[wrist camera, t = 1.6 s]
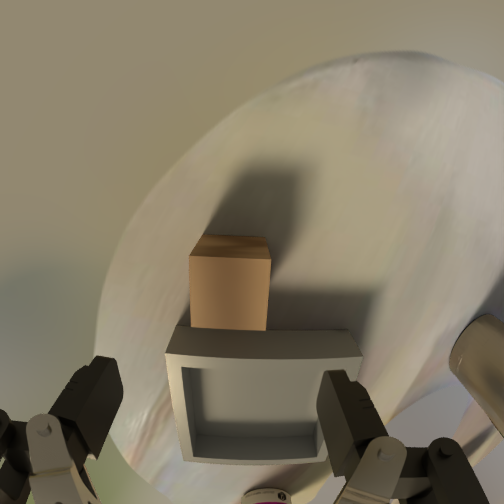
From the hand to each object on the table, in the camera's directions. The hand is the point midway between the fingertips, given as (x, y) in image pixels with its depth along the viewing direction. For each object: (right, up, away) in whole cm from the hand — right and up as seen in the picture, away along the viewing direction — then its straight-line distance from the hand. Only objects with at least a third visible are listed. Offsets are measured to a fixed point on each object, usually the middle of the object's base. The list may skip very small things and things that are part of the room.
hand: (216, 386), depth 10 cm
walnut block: (0, +4, +14) cm, 15 cm away
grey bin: (+2, -10, +18) cm, 20 cm away
